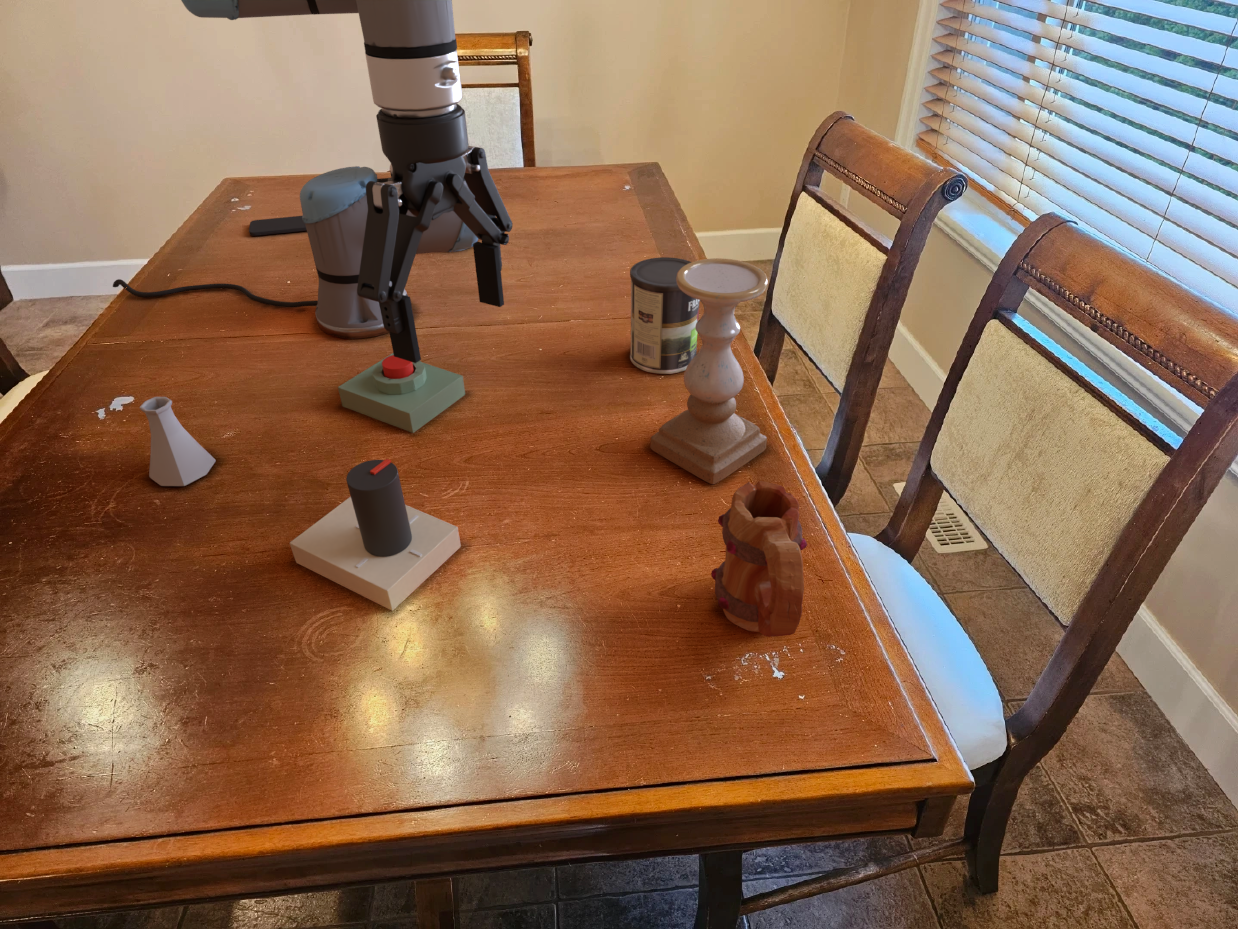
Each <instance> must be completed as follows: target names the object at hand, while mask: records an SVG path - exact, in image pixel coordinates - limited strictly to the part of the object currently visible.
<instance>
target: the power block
mask: <svg viewBox="0 0 1238 929" xmlns="http://www.w3.org/2000/svg"><path fill="white" fill-rule="evenodd" d="M392 355H394V354H393V352H392V353H390V354H389V355H386V356H385V357H384V358H382V359H381V360H379V361H378V362H376V363H375V364H373V365H370V367H367V368H366V369H365V370H363V371H361V372H359V373H358V374H356V375H354V376H353V377H352V378H350V379H348V380H347V381H346V382H344V383H342V384H341V385H338V386H337V390H338V391H337V392H338V394H339V397H340V403H341V406H342V407H343V408H345V409H348V410H351V411H354V412H357V413H358V414H362V415H364V416H367V417H370V418H372V419H374V420H377V421H380V422H383V423H385V424H387V425H391V426H393V427H396V428H398V429H400V430H404V431H406V432H409V433H412V434H414V433H415V432H417V431H418V430H419V429H421V428H422V427H423V426H425V425H426V424H427V423H429V422H430V421H432V420H433V419H434V418H435V417H437V416H439V415H440V414H442V412H444V411H445V410H447V409H448V408H449V407H451V406H452V405H454V404H455V403H456V402H457V401H459V400H460V399H462V398H463V397H464V396H466V390H465V383H464V382H465V381H464V375H462V374H459V373H455V372H453V371H450V370H447V369H444V368H440V367H438V366H436V365H433V364H432V365H431V364H429V363H427V362H423V361H421V360H420V361H418V362H417V363H414V362H412V363H413V369H414V372H413V374H411V375H410V376H408V377H405V378H401V379H389V378H386V377H385V375H384V371H383V367H382V361H383V360H384V359H385V358H387V357H389V356H392Z"/></svg>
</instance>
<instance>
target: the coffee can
mask: <svg viewBox="0 0 1238 929" xmlns="http://www.w3.org/2000/svg"><path fill="white" fill-rule="evenodd" d="M691 262H692V261H690V260H687V259H684V258H679V257H668V256H664V257H663V256H662V257H652V258H647V259H644V260H640V261H639V262H636V263H635V264H633V265H632V266H631V267H630V269H629V277H630V353H629V359H630V361H631V363H632V365H633V366H634V367H636V368H638V369H640V370H641V371H644V372H647V373H651V374H658V375H673V374H678V373H682V372H685V370H686V368H687V366H688V364H689V363H690V361H691V360H692V359H693V358H694V357H695V356H696V354H697V350H698V349H697V348H698V347H697V346H698V333H697V331H696V323H697V322H698V321H699V319H700V318H699V316H700V303H701V301H700V300H698V299H695V298H692V297H690V296H688V295H687V294H685V293H684V292H682V291H681V290H680V288H679V287H678V285H677V282H676V276H677V273H678V271H679V270H680V269H681V268H682V267H683V266H685V265H687V264H689V263H691Z"/></svg>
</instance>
